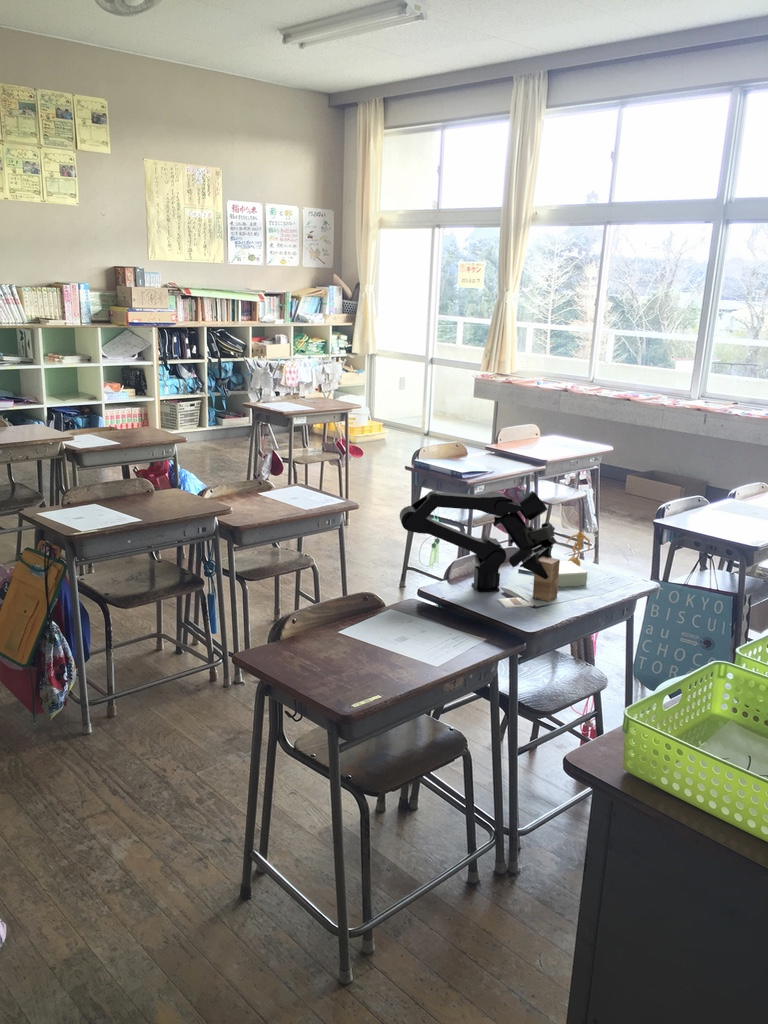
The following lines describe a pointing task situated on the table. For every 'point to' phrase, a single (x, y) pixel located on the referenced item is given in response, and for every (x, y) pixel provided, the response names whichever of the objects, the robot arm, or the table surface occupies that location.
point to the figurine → (580, 538)
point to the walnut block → (549, 586)
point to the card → (514, 602)
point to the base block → (571, 574)
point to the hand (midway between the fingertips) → (551, 575)
